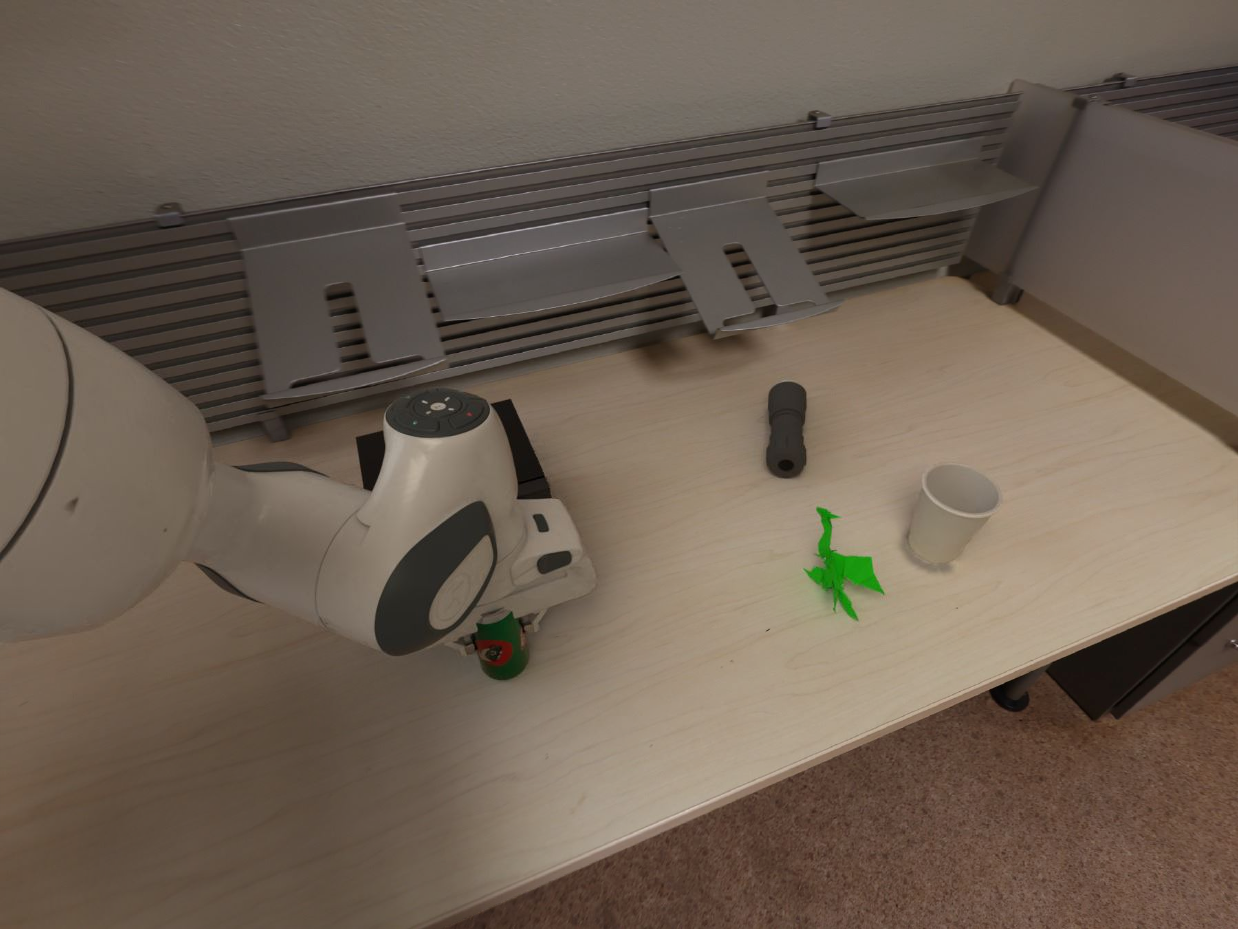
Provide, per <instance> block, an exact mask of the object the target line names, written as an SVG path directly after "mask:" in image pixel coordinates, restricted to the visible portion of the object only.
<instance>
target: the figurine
mask: <svg viewBox="0 0 1238 929" xmlns="http://www.w3.org/2000/svg"><path fill="white" fill-rule="evenodd" d="M815 510H816V513H817V514H818V515H819V517H820V524H821V526H822V529H823V533H822V534H821V537H820V538H819V540H818V542H817V551H818V554H817V553H813V555H814V556H816V557H818V558H820V560H823V564H824V565H825V567H820V566H816V565H815V566H813V568H812V569H811V571H810V570H808V569H806V568H803V567H802V569H803V570H804V572H805V573H806V574H807V576H808V577H809V578H810V579H812V581H814V582H815V583H816V584H817V585H821V587H822V589H823V590H824V591H825V592H826V593H827V594H829V591H828V588H832V597H833V607H832V610H833V612H834V613H835V614H836V613H837V612H836V608H837V602H838V600H839V602H840V603H841V604H842V607H843V608H844V610H845V611H846V612H847V615H849V616H850V617H851V618H852V619H854V620H856V621H858V622H860V621H859V618H858V615H857V613H856V611H855V609H854V608H853V605H852V601H851V599H850V598H849V597H848V596H847V595H846V593H845V592H844V591H843V590H845V588H844V587H843V585H845V579H847V580H848V581H850V582H851V583H852V584H853V585H854V586H857V585H859V586H861V587H864V588H866V589H869V590H871V591H874V592H877V593H879V594H882V595H883V596H886V593H885V591H884V589H883V588H882V586H881V584H880V582H879V579H878V578H877V576H876V574H875V570H874V565H873V558H872V556H861V555H859V556H858V555H844V554H840V553H838V552H837V551H838V549H831V541H832V532H833V524H832V521H831V520H832V519H840V518H841V519H842V516H839V515H837V514H834V513H832V511H830V510H829V509H827V508H824V507H820V506H817V507H815Z"/></svg>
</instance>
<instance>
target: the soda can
mask: <svg viewBox="0 0 1238 929" xmlns="http://www.w3.org/2000/svg"><path fill="white" fill-rule="evenodd" d="M504 609H505V607H502V608H500V609H499V610H497V611H495V612H492V613H485V614H482V615H480V616H482V618H481V619H480V620H479V621H478V622H477V623H476V626H477V629H478V630H477V632H475V633H472V634H471V637H472V640H473V642H474V645H475V648H476V652H475V653H476V656H477V659H478V661H479V665H480V668H481V670H482V672H483V673H484V675H486V676H487V677H489V679H493V680H495V681H509V680H513V679H514V678H516V677H518V676H519V675H521V674H522V672H524V670H525V669H526V667H527V666H528V664H529V661H530V651H529V650H530V649H529V646H528V640H527V637H526V635H525V632H524V627H523V623H522V618H521V617H519V618H516V619H515V618H514V616H513V612H512V611H508V610H504Z"/></svg>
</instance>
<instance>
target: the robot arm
mask: <svg viewBox="0 0 1238 929" xmlns="http://www.w3.org/2000/svg"><path fill="white" fill-rule="evenodd" d="M490 404H491V403H490V402H489V401H488V400H487V399H485V398H483V397H480V396H479V395H477V394H474V393H471V392H468V391H463V390H458V389H454V388H447V387H437V388H428V389H420V390H417V391H414V392H411V393H408V394H405V395H403V396H401V397H399V398H398V399H396V400H394V401H393V402H392V403H391V404H390V405H389V406H388V407H387V408H386V410H385V412H384V414H383V420H382V421H383V422H382V430H384V440H385V446H386V449H385V456H384V460H383V464H382V468H381V471H380V474H379V477H378V479H377V482H376V484H375V486H374V489H373V491H369V490H366V489H364V488H363V487H361V486H360V487H359V486H356V485H354V484H350V483H349V482H348V483H347V482H345V481H342V480H339V479H336V478H333V477H332V476H331V477H330V475H327V474H325V473H322V472H320V471H318V470H315V469H312V468H310V467H308V466H305V465H303V464H301V463H297V462H293V461H281V460H279V461H268V462H260V463H251V464H242V465H241V464H240V465H229V464H226V463H224V462H221V461H219V460H216V459H215V454H214V448H213V443H212V437H211V433H210V431H209V428H208V425H207V422H206V420H205V417H204V415H203V413H202V411H201V410H200V409H199V407H198V406H197V405H196V404H195V403H194V402H192V401H191V399H188V398H187V397H186V396H185V395H184V394H183V393H181V392H180V391H178V389H176V388H175V387H174V386H172V385H171V384H170V383H168V382H167V381H166V380H164V379H163V378H162V377H160V376H159V375H158V374H156V373H155V372H153V370H150V369H149V368H147V367H146V366H145V365H144V364H142V363H141V362H139V361H138V360H136V359H135V358H133V357H132V356H130V355H128V354H127V353H126V352H124V351H123V350H121V349H119V348H118V347H116V346H114V345H113V344H111V343H110V342H108V341H106V340H104V339H103V338H102V337H100V336H97V335H95V334H94V333H92V332H91V331H88V330H87V329H85V328H83V327H81V326H80V325H77V324H76V323H74V322H71V321H70V320H68V319H66V318H64V317H63V316H60V315H58V314H56V313H54V312H52V311H51V310H48V309H47V308H45V307H43V306H40V305H38V304H37V303H35V302H33V301H30V300H28V299H26V298H25V297H23V296H21V295H19V294H17V293H15V292H12V291H10V290H8V289H6V288H4V287H1V286H0V645H2V644H12V643H21V642H29V641H36V640H37V641H38V640H44V639H51V638H56V637H62V636H63V637H64V636H69V635H74V634H75V635H76V634H79V633H85V632H91V631H94V630H97V629H100V628H102V627H104V626H106V625H108V624H110V623H112V622H113V621H115V620H117V619H118V618H120V617H122V616H124V615H125V614H126V613H128V612H130V611H131V610H133V609H134V608H136V607H137V606H138V605H139V604H140V603H141V602H143V601H144V600H145V599H146V598H148V597H149V596H151V595H152V594H153V593H154V592H155V591H156V590H157V589H158V588H159V587H160V586H161V585H162V584H164V582H165V581H166V580H168V579H169V577H170V576H172V575H173V573H174V572H175V571H176V569H177V568H178V567H179V566H180V565H181V563H182V562H183V563H185V562H186V563H192V564H194V565H195V566H196V567H197V568H198V569H199V570H201V571H202V572H203V574H205V575H206V576H207V578H209V580H211V581H212V582H213V583H214V584H215V585H216V586H217V587H219V588H221V589H222V590H223V591H225V592H227V593H229V594H232V595H234V596H237V597H240V598H243V599H246V600H250V601H252V602H255V603H258V604H262V605H267V606H269V607H271V608H273V609H276V610H279V611H281V612H284V613H286V614H288V615H291V616H293V617H295V618H297V619H300V620H302V621H305V622H308V623H309V624H311V625H314V626H317V627H319V628H322V629H324V630H327V631H329V632H330V633H331V632H332V633H334V634H336V635H338V636H340V637H343V638H345V639H349V641H353V642H356V643H358V644H361V645H362V646H365V647H368V648H370V649H373V650H375V651H378V652H381V653H383V655H384V656H385V657H389V658H393V659H400V658H403V657H406V656H410V655H412V654H416V653H419V652H421V651H424V650H428V649H430V648H433V647H436V646H439V645H442V644H443V645H444V646H446V647H449V648H452V649H455V650H458V651H459V653H460V655H461V658H464V657H466V656H468V655H471V654H474V653H477V652H476V648H475V645H474V642H473V640H472V637H471V634H472V633H475V632H477V630H478V629H477V626H476V623H477V622H478V621H479V620H480V619H481V618H482V616H480V615H482V614H485V613H492V612H495V611H497V610H499V609H500V608H502V607H505V609H504V610H508V611H512V612H513V616H514V618H515V619H516V618H519V617H521V618H522V623H523V627H524V632H525V636H526V635H530V634H533V633H535V632H538V631H540V626H539V623H540V621H541V620H542V619H543V617H544V616H545V614H546V613H547V612H548V608H552V607H554V606H557V605H560V604H564V603H566V602H568V601H572V600H575V599H579V598H580V597H581V598H582V597H584V596H587V595H589V594H591V593H592V592H593V590H594V589H595V588H596V587H597V585H598V578H597V573H596V569H595V567H594V564H593V562H592V559H591V557H590V554H589V551H588V550H587V548H586V545H585V543H584V541H583V539H582V537H581V535H580V532H579V531H578V529H577V526H576V523H575V521H574V520H573V517H572V516H571V514H570V512H569V510H568V509H567V508H566V505H565V504H564V503H563V502H562V500H561V499H559V498H552V497H551V499H530V500H519V499H517V494H518V482H517V476H516V470H515V466H514V461H513V456H512V452H511V448H510V445H509V441H508V438H507V435H506V432H505V429H504V427H503V424H502V422H501V420H500V418H499V416H498V414H497V413H496V411H495V410H494V408H493V407H492V406H491V405H490Z"/></svg>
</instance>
